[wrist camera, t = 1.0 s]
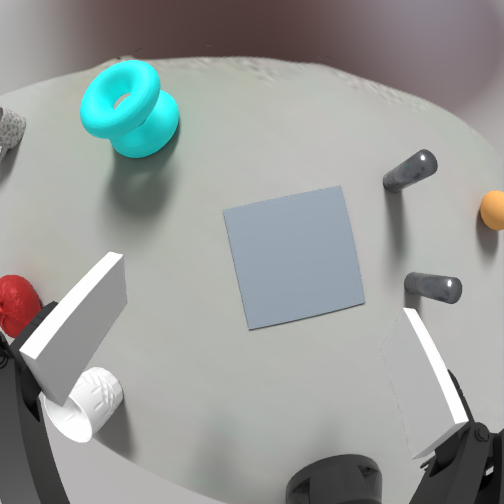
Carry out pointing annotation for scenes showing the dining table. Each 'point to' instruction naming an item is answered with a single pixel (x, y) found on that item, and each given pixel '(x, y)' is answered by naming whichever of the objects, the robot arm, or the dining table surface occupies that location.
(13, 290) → the pomegranate
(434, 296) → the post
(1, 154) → the mug
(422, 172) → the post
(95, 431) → the white cup
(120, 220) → the dining table surface
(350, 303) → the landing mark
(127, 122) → the donuts
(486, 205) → the ball
